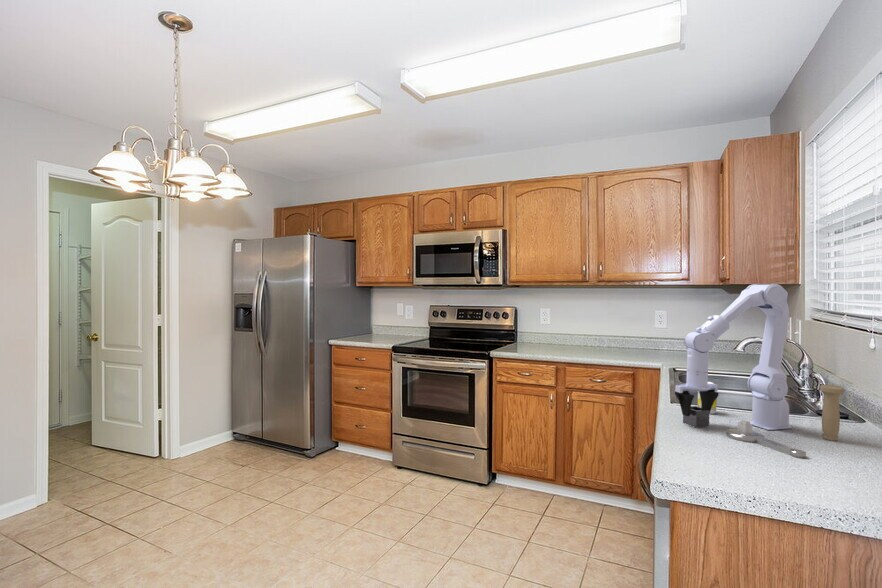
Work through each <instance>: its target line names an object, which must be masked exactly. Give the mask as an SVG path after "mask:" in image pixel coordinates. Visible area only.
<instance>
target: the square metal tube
mask: <svg viewBox="0 0 882 588" xmlns="http://www.w3.org/2000/svg"><path fill="white" fill-rule="evenodd" d="M709 412H710V410H707V409H704V408H701V407H698V405H696V406H695V405H694V406H693V405H691V410H690V416H685V415H683V414H682V423H683V424H685V423H686V424H685V425H687V424H689V425H688V426H690V425H691V427H693V426H694V427H693V428H696V427H698V428H707V427H706V426H709V427H710V414H709Z"/></svg>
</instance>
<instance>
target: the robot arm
mask: <svg viewBox="0 0 882 588" xmlns="http://www.w3.org/2000/svg"><path fill="white" fill-rule="evenodd" d="M788 294H789V292H787V290H786V289H785V288H784V287H783V286H782V285H780V284H778V283H771V284H759V283H758V284H756V283H754V284H750V285H748V286H747V287H746V288H745V289H743V290H741V292H740V294H739V296H738V297H737V298H736V299H735V300H734V301H733V302H732V303H730V305H729V306H728V307H726V309H725V310H723V311H722V312H721V313H720V315H718V314H716V315H715V314H713V315H710V316H708V317H707V318H706V321H705V322H704V323H703V324H701V326H699V327H698V326H697V327H696V328H695V331H691V332H688V334H687V335H686V336H685V339H683V340H682V341H683V344H684V347H685V348H686V353H687V355H686V383H683V384H682V383H681V384H678V385H675V390H674V395H675V396H676V398H677V400H678V402H679V405H680V409H681V413H682V416H683V415H685V416H690V410H691V406H692V403H693V400H694V397H695V395H693V394H691V393H694V392H697V393H698V391H699V393H700V397H701V408H704V409H707V410H710V411H711V408H712V405H713V403H714V401H715V400H716V398H718V397H719V392H718V390H719V385H718V384H715V383H714V384H708V382H709V381H708V380H709V377H708V376H709V356H710V355H709V353H710V352H709V351H710V350H712V349H713V348H714V345H715V342H716V341H717V340H718V339H719V338H720V337H721V336H723V334H725V333H726V332H727V331H728V330H730V323H731V322H733V320H735V319H737V318H738V317H739V316H740V315H742V314H743V313H744V312H745V311H747V310H748V309H750V308H753V307H757V308H758V309H760V310H761V312H763V313H764V314H765V316H766V318H765V325H764V329H763V337H762V342H761V348H760V355H759V359H758V360H759V362H758V364H757V365H756V366H755V367H753V368H752V371H751V374H750V376H749V377H748V379H747V388H748V389H749V390H750V391H751V395H752V403H751V404H752V407H751V409H752V411H751V412H752V413H751V420H748V421H749V422H750V424H752V426H755V427H758V428H761V429H764V430H766V431H767V430H768V431H775V430H784V429H786V430H787V429H793V428H792V426H791V425H790V405H789V403H788V401H787V399H785V397H786V396H787V394H788V391H789V386H788V383H787V379H788V376H787V374H786V373H785V372H784V370H782V368H781V367H782V362H783V356H784V349H785V343H786V336H787V331H788V324H789V319H790V318H789V317H790V308H789V305H788V296H789V295H788ZM715 391H717V392H715ZM709 415H711V414H710V412H709Z"/></svg>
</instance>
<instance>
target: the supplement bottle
mask: <svg viewBox="0 0 882 588" xmlns="http://www.w3.org/2000/svg"><path fill="white" fill-rule="evenodd" d="M708 384H715V383H714V382H711V381H708ZM715 392H717V393H718V391H715ZM717 398H718V397H717ZM717 398H716V400H715V401H714V403H713V405H712V408H711V411H710V414H709V415H714V414H716V413H717ZM697 407H701V397H700V393H699V391H697Z"/></svg>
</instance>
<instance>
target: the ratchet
mask: <svg viewBox="0 0 882 588" xmlns="http://www.w3.org/2000/svg"><path fill="white" fill-rule="evenodd" d="M749 421H750V420H744V419H743V420H740V421H738V422H737V428H728V429H725V430H726V431H725V435H726V437H728V436H729V437H728V438H730V437H731V438H730V439H732V438H733V440H736V441H739V440H740V442H744V443H751V442H752V444H753V443H754V444H758V445H761V446H764V447H766V448H770V449H772V450H775V451H776V452H777V451H778V452H781V453H784V454H786V455H790V456H791V457H794V458H798V459H806V458H807V451H804V450H802V449H797V448H795V447H792V446H789V445H786V444H783V443H780V442H777V441H774V440H772V439H768V438H765V436H764V435H763V434H760V433H759V432H757V431H753V425H752V424H750V422H749Z"/></svg>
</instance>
